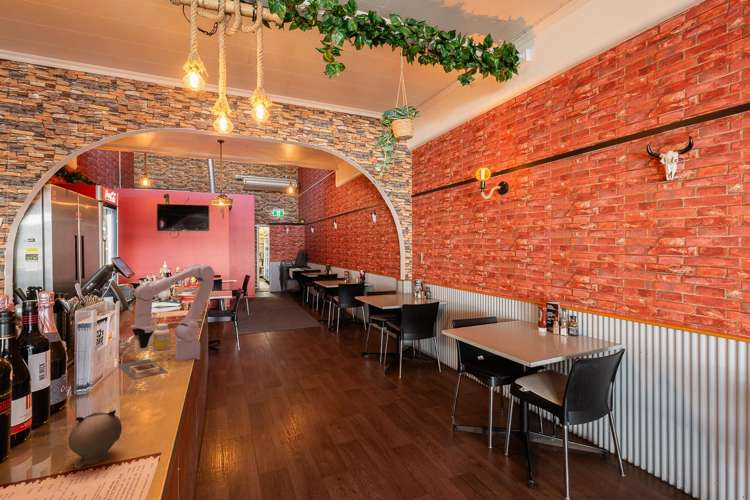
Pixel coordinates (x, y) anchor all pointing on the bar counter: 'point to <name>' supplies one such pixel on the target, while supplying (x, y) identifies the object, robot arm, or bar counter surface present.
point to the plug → (137, 345)
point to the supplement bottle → (161, 338)
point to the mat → (126, 366)
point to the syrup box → (152, 329)
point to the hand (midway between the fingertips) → (141, 346)
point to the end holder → (144, 370)
